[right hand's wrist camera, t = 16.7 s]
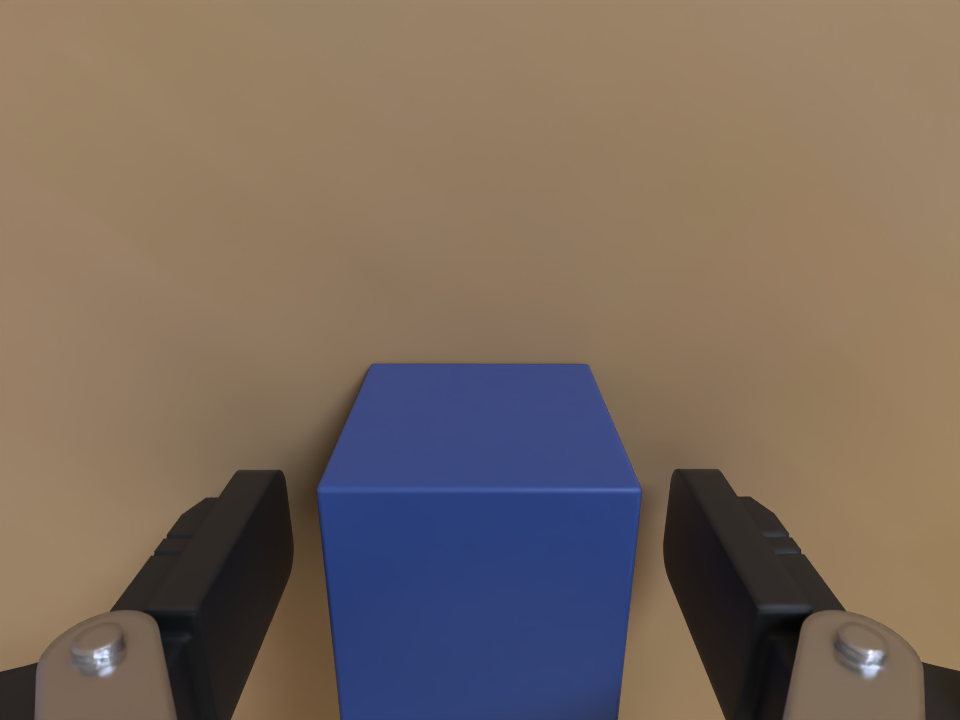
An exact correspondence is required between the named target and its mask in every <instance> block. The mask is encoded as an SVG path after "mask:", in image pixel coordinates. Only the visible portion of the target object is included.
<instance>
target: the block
mask: <svg viewBox="0 0 960 720" xmlns="http://www.w3.org/2000/svg"><path fill="white" fill-rule="evenodd" d="M316 491H317V501H318V510H319V520H320V529H321V539H322V548H323V558H324V567H325V577H326V586H327V596H328V605H329V615H330V624H331V634H332V643H333V653H334V662H335V672H336V681H337V691H338V700H339V710H340V719H341V720H618V712H619V703H620V694H621V684H622V675H623V665H624V656H625V647H626V637H627V628H628V619H629V609H630V600H631V590H632V581H633V572H634V562H635V553H636V544H637V534H638V525H639V515H640V506H641V497H642V489H641V487H640V484H639V482H638V480H637V477H636V475H635V473H634V470H633V468H632V466H631V463H630V461H629V459H628V456H627V454H626V452H625V449H624V447H623V445H622V442H621V440H620V438H619V435H618V433H617V431H616V428H615V426H614V424H613V421H612V419H611V417H610V414H609V412H608V410H607V407H606V405H605V403H604V400H603V398H602V396H601V393H600V391H599V389H598V386H597V384H596V382H595V379H594V377H593V375H592V372H591V370H590V368H589V365H586V364H372V365H371V366H370V368H369V371H368V373H367V375H366V377H365V380H364V382H363V384H362V387H361V389H360V391H359V393H358V396H357V398H356V400H355V403H354V405H353V407H352V409H351V412H350V414H349V416H348V419H347V421H346V423H345V426H344V428H343V430H342V432H341V435H340V437H339V439H338V442H337V444H336V446H335V448H334V451H333V453H332V455H331V458H330V460H329V462H328V464H327V467H326V469H325V471H324V474H323V476H322V478H321V481H320V483H319V485H318V488H317V490H316Z"/></svg>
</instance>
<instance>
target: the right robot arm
mask: <svg viewBox="0 0 960 720" xmlns="http://www.w3.org/2000/svg"><path fill="white" fill-rule="evenodd" d="M293 550H294V547H293V535H292V527H291V519H290V511H289V503H288V495H287V487H286V480H285V476H284V474H283V472H282V471H281V470H238V471H237V472H236V473H235V474H234V476H233V477H232V479H231V480H230V481H229V483H228V484H227V486H226V487H225V489H224V490H223V492H222V493H221V495H220V496H219V498H205V499H204V500H202V501H201V502H199V503H198V504H197V505H195V506H194V507H192V508H191V509H189V510H188V511H186V512H185V513H184V514H182V515H181V516H180V518H179V519H178V521H177V522H176V523H175V525H174V526H173V527H172V529H171V530H170V531H169V533H168V534H167V538H166V539H163V541H162V542H161V543H160V545H159V546H158V547H157V549H156V550H155V551H154V552H155V553H154V556H151V557H150V558H149V559H148V561H147V562H146V563H145V565H144V566H143V568H142V569H141V570H140V572H139V573H138V574H137V576H136V577H135V578H134V580H133V581H132V582H131V584H130V585H129V586H128V588H127V589H126V590H125V592H124V593H123V594H122V596H121V597H120V598H119V600H118V601H117V602H116V604H115V605H114V606H113V608H112V609H111V610H110V612H108V613H104V614H100V615H97V616H94V617H92V618H89V619H87V620H85V621H83V622H81V623H79V624H77V625H75V626H73V627H72V628H70V629H68V630H67V631H66V632H64V633H63V634H61V635H60V636H59V637H58V638H57V639H55V640H54V641H53V642H52V643H51V644H50V645H49V647H48V648H47V649H46V650H45V651H44V653H43V655H42V656H41V658H40V660H39V662H38V663H34V664H31V665H27V666H23V667H19V668H15V669H11V670H6V671H2V672H0V720H231V718H232V715H233V713H234V710H235V708H236V705H237V703H238V701H239V698H240V696H241V693H242V691H243V688H244V686H245V684H246V681H247V679H248V676H249V674H250V671H251V669H252V667H253V664H254V662H255V659H256V657H257V654H258V652H259V650H260V647H261V645H262V642H263V640H264V637H265V635H266V633H267V630H268V628H269V625H270V623H271V620H272V618H273V616H274V613H275V611H276V608H277V606H278V603H279V601H280V599H281V596H282V594H283V591H284V589H285V586H286V584H287V582H288V579H289V576H290V573H291V569H292V563H293ZM663 554H664V563H665V569H666V573H667V576H668V579H669V581H670V584H671V586H672V589H673V591H674V594H675V596H676V598H677V601H678V603H679V606H680V608H681V611H682V613H683V616H684V618H685V621H686V623H687V626H688V628H689V630H690V633H691V635H692V638H693V640H694V643H695V645H696V648H697V650H698V653H699V655H700V658H701V660H702V663H703V665H704V667H705V670H706V672H707V675H708V677H709V680H710V682H711V685H712V687H713V690H714V692H715V695H716V697H717V699H718V702H719V704H720V707H721V709H722V712H723V714H724V717H725V719H726V720H960V671H957V670H952V669H948V668H944V667H940V666H935V665H931V664H927V663H924V662H921V660H920V658H919V656H918V655H917V653H916V651H915V650H914V649H913V648H912V647H911V645H910V644H909V643H908V642H907V641H906V640H905V639H903V638H902V637H901V636H900V635H899V634H897V633H896V632H894V631H893V630H892V629H890V628H888V627H887V626H885V625H883V624H881V623H879V622H877V621H875V620H873V619H871V618H868V617H866V616H863V615H859V614H856V613H852V612H847V611H846V610H845V609H844V608H843V606H842V605H841V604H840V602H839V601H838V599H837V598H836V597H835V595H834V594H833V593H832V591H831V590H830V589H829V587H828V586H827V585H826V583H825V582H824V580H823V579H822V578H821V576H820V575H819V574H818V572H817V571H816V570H815V568H814V567H813V566H812V564H811V563H810V561H809V560H808V559H807V557H806V556H805V555H804V554H801V549H800V548H799V547H798V545H797V544H796V542H795V541H794V540H793V538H789V533H788V532H787V530H786V529H785V528H784V526H783V525H782V523H781V522H780V521H779V519H778V518H777V517H776V515H775V514H774V513H773V512H771V511H770V510H768V509H767V508H765V507H764V506H763V505H761V504H760V503H758V502H757V501H755V500H754V499H753V498H751V497H738V496H737V495H736V493H735V492H734V490H733V489H732V488H731V486H730V485H729V483H728V482H727V480H726V479H725V477H724V476H723V474H722V473H721V472H720V471H719V470H718V469H676V470H675V471H674V472H673V474H672V478H671V484H670V492H669V500H668V508H667V516H666V524H665V533H664V542H663Z"/></svg>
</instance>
